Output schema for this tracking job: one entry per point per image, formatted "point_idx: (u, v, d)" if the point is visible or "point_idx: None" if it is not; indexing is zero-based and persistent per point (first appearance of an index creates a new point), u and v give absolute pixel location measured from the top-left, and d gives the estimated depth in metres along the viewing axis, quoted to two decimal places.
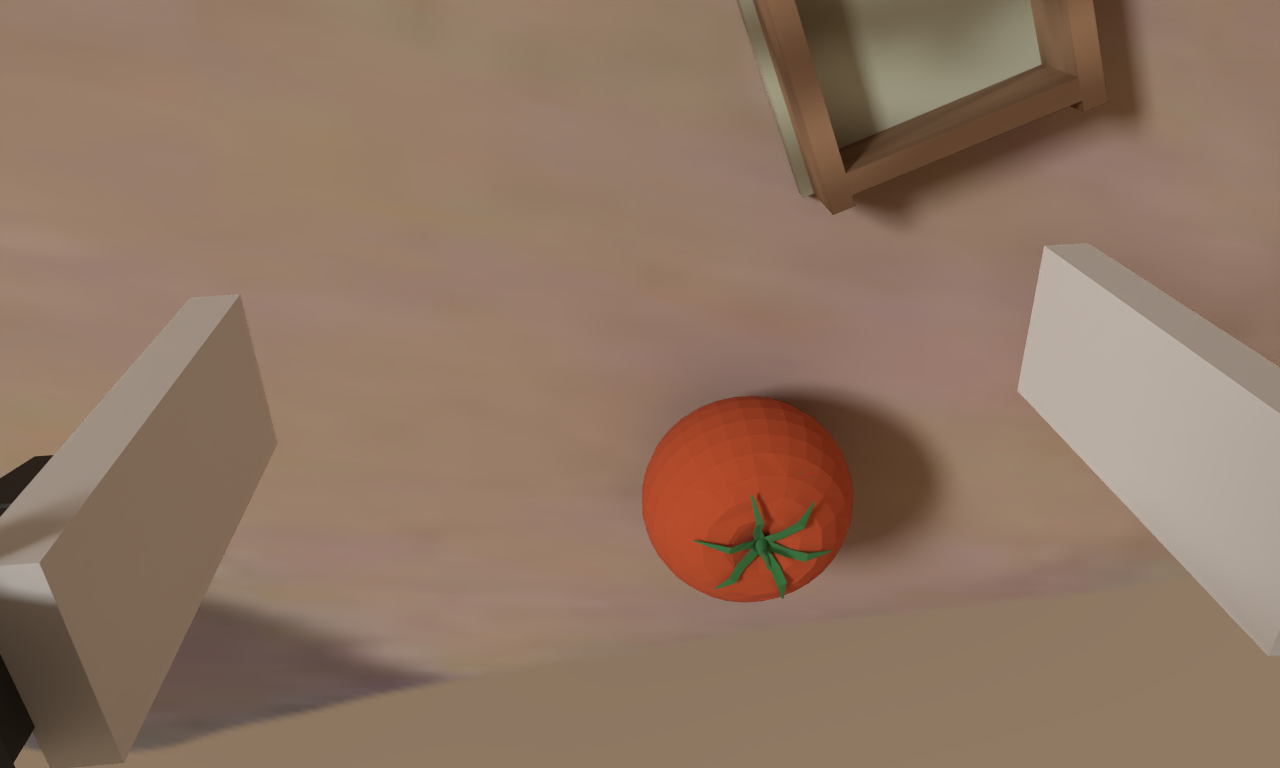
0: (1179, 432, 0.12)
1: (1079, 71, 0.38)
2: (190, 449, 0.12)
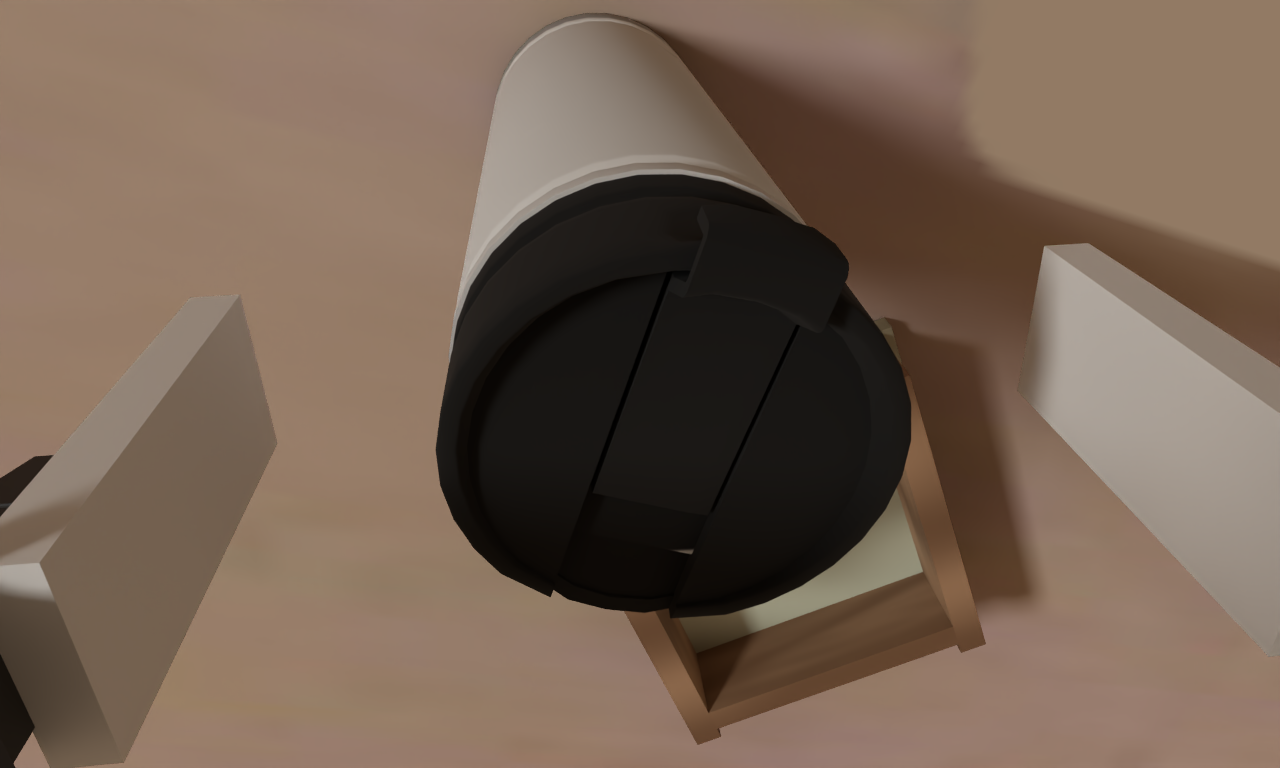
0: (1179, 432, 0.12)
1: (953, 622, 0.35)
2: (190, 449, 0.12)
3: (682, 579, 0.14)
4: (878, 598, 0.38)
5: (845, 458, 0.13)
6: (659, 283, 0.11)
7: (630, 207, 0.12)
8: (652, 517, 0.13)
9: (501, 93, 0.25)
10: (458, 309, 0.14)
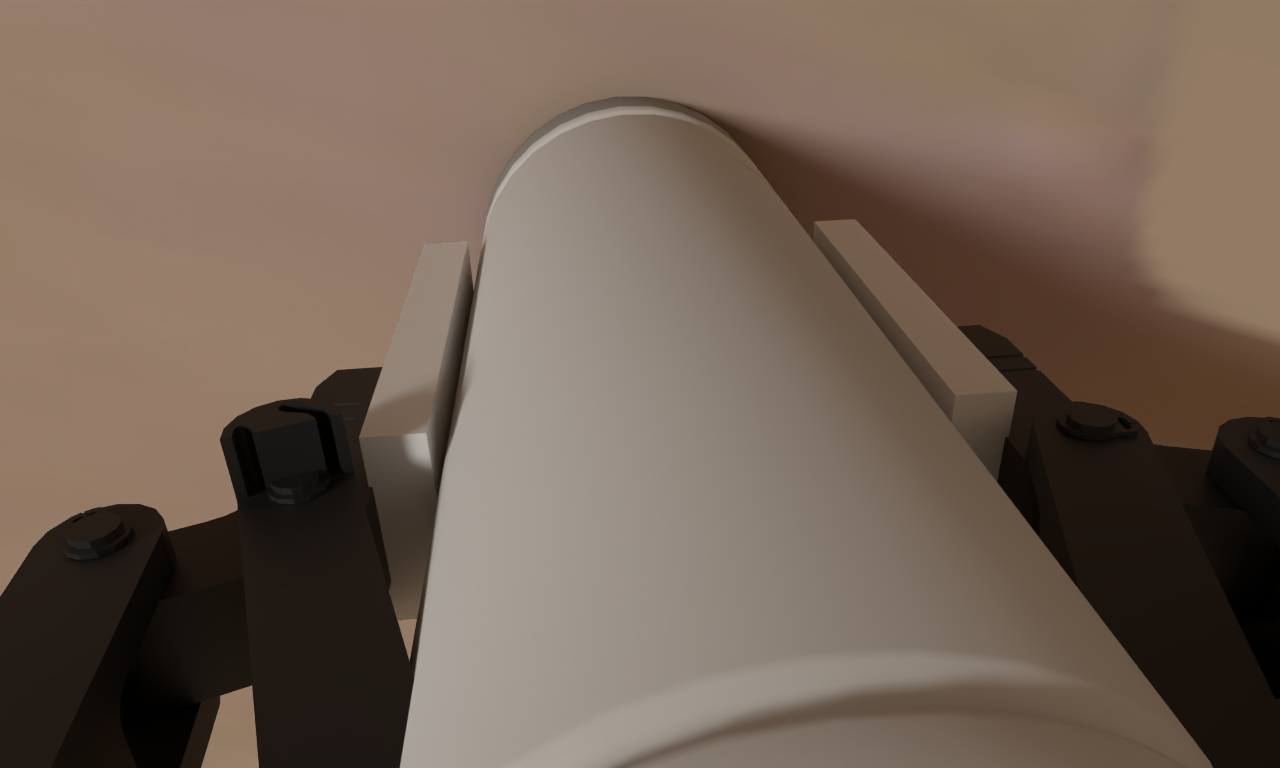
0: None
1: None
2: (460, 367, 0.14)
3: None
4: None
5: None
6: None
7: None
8: None
9: (492, 229, 0.16)
10: None
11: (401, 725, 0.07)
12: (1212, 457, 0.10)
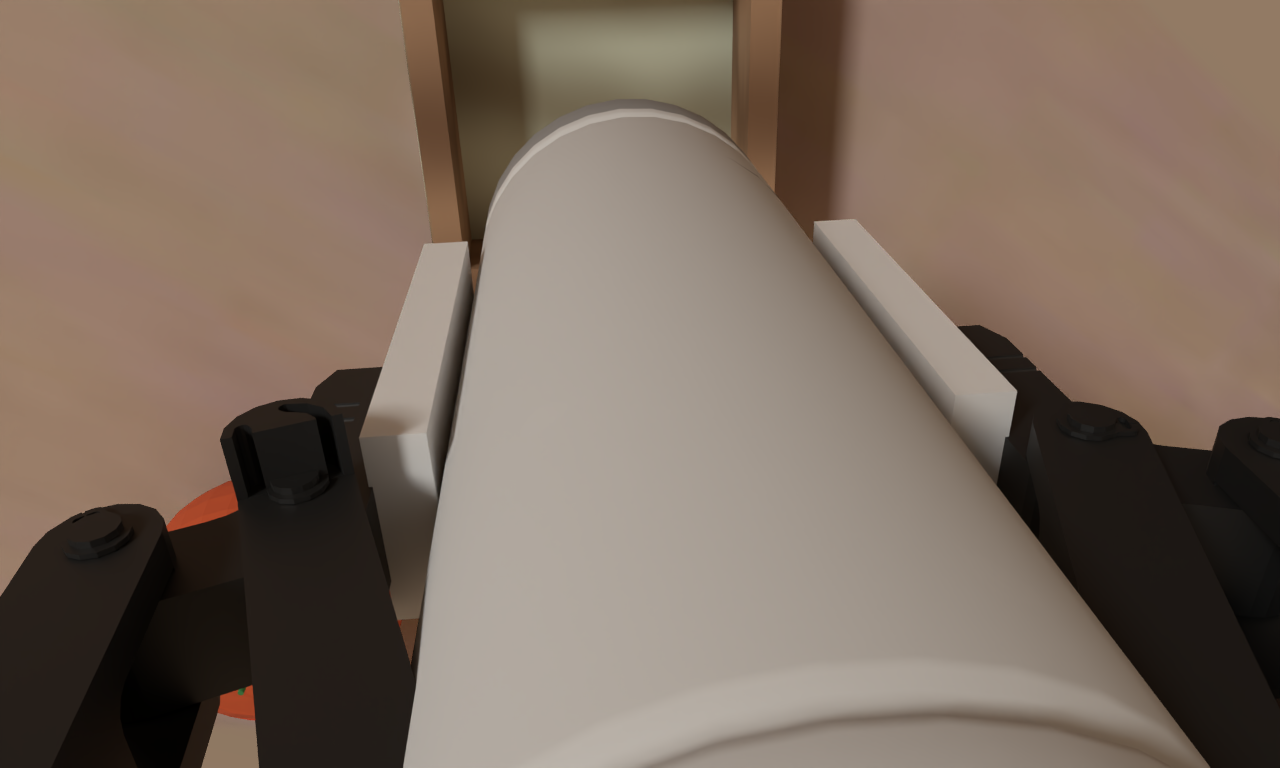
0: None
1: None
2: (460, 367, 0.14)
3: None
4: None
5: None
6: None
7: None
8: None
9: (492, 232, 0.16)
10: None
11: (400, 725, 0.07)
12: (1212, 457, 0.10)
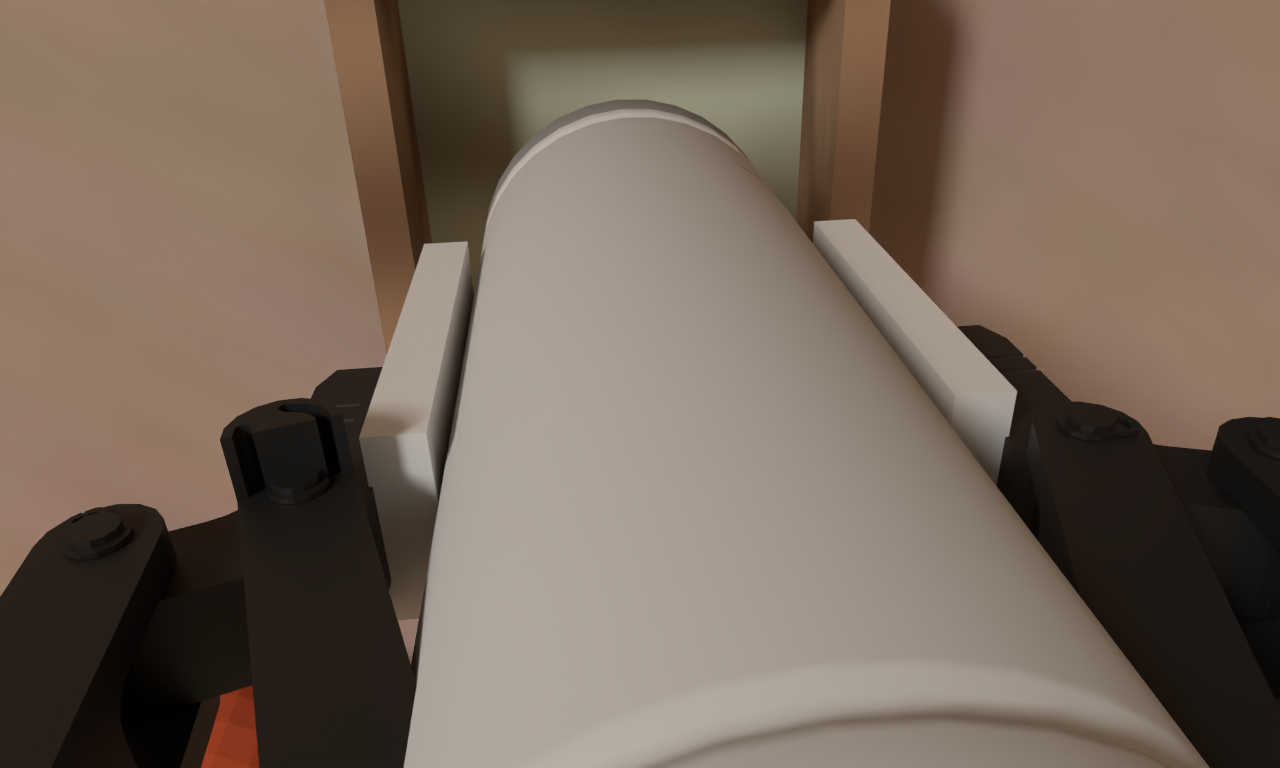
0: None
1: None
2: (460, 367, 0.14)
3: None
4: None
5: None
6: None
7: None
8: None
9: (492, 232, 0.16)
10: None
11: (400, 725, 0.07)
12: (1212, 457, 0.10)
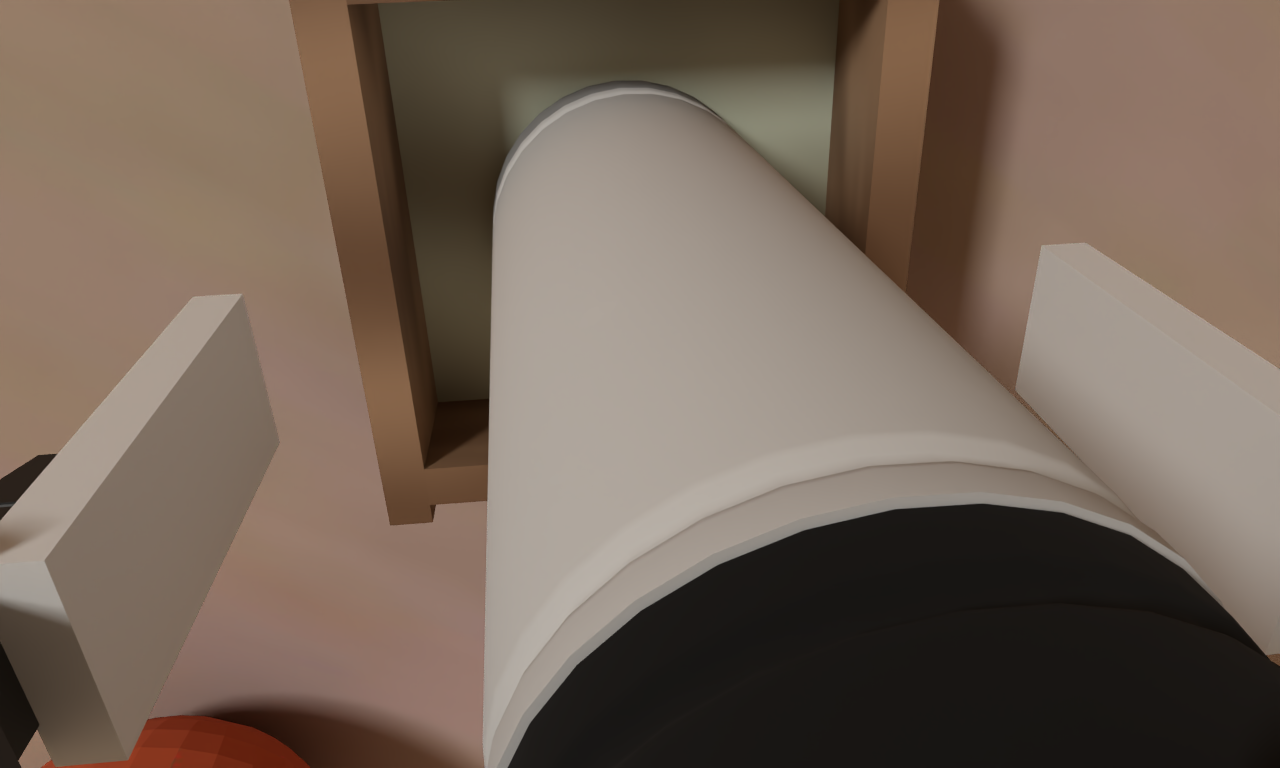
0: (1175, 431, 0.12)
1: None
2: (193, 448, 0.12)
3: None
4: None
5: None
6: None
7: (946, 663, 0.05)
8: None
9: (510, 196, 0.18)
10: (503, 759, 0.07)
11: None
12: None
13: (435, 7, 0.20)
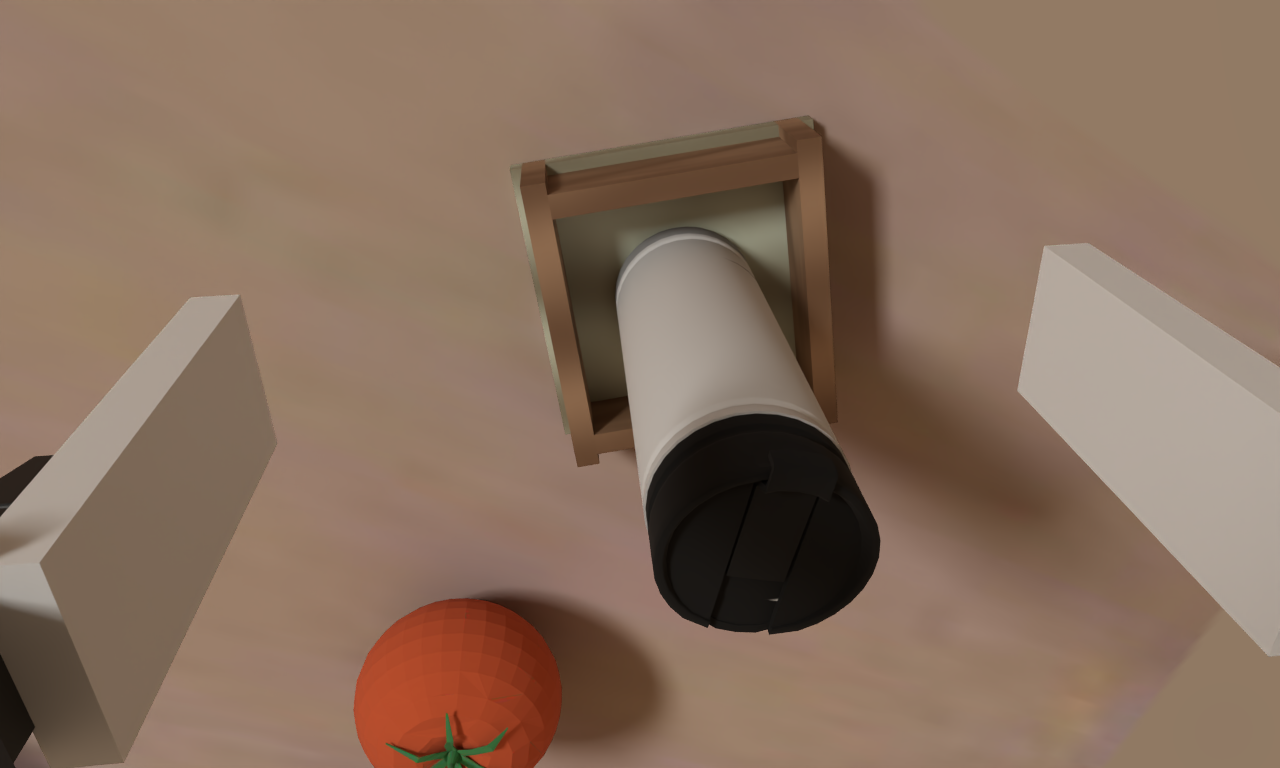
0: (1179, 432, 0.12)
1: (815, 392, 0.41)
2: (190, 449, 0.12)
3: (773, 613, 0.27)
4: None
5: (850, 550, 0.25)
6: (752, 482, 0.24)
7: (735, 442, 0.25)
8: (756, 584, 0.26)
9: (626, 298, 0.38)
10: (648, 484, 0.27)
11: None
12: None
13: None
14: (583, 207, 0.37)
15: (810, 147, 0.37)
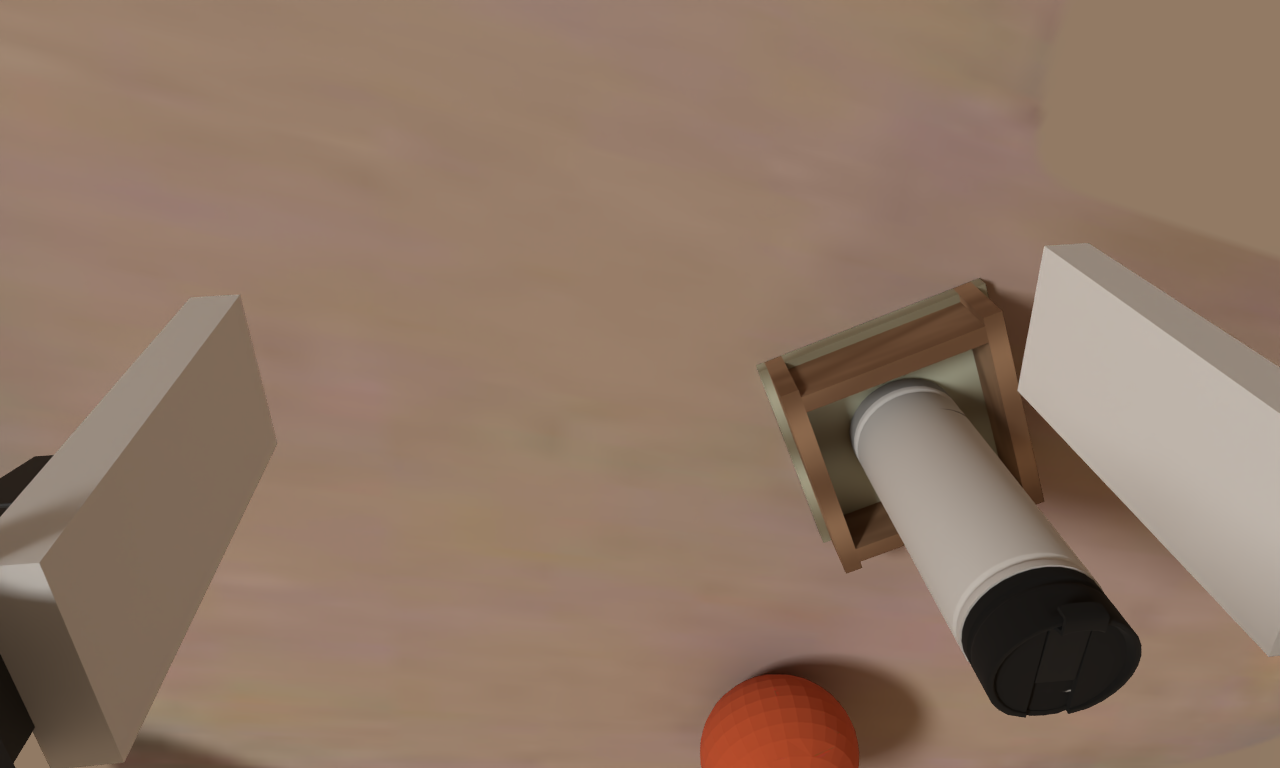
0: (1179, 432, 0.12)
1: (1023, 484, 0.53)
2: (190, 449, 0.12)
3: (1069, 699, 0.38)
4: None
5: (1119, 652, 0.37)
6: None
7: (1026, 597, 0.36)
8: (1054, 683, 0.38)
9: (870, 452, 0.50)
10: (961, 626, 0.39)
11: None
12: None
13: None
14: (828, 399, 0.49)
15: (994, 320, 0.47)
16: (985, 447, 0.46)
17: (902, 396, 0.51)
